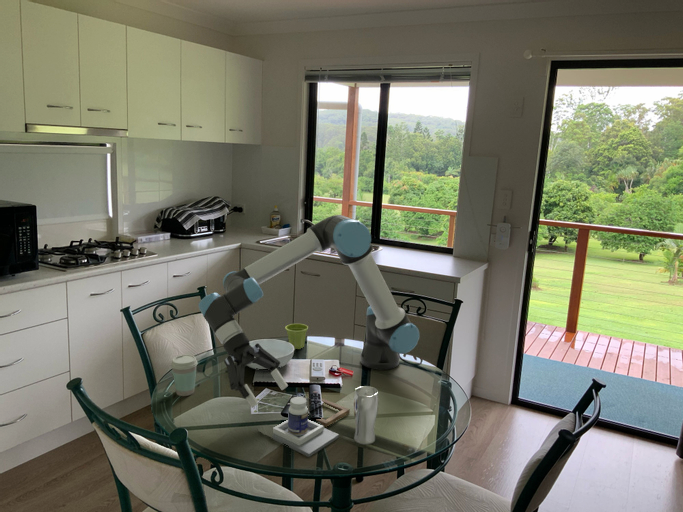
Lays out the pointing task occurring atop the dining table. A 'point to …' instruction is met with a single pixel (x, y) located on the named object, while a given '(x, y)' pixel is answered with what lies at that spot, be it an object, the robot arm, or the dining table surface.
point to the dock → (305, 437)
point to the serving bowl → (274, 350)
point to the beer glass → (365, 414)
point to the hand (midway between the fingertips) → (270, 396)
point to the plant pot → (297, 335)
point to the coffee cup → (184, 374)
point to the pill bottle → (298, 416)
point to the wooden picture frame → (335, 417)
